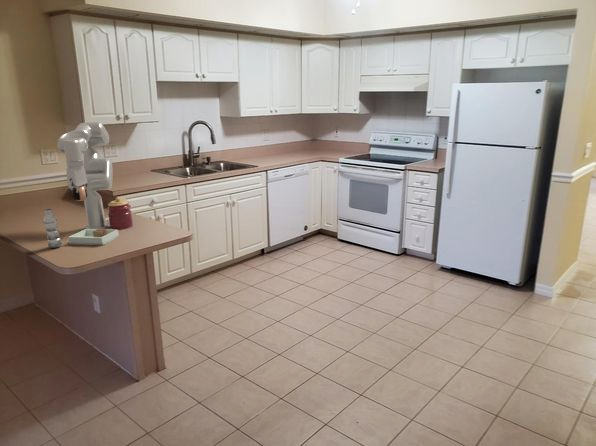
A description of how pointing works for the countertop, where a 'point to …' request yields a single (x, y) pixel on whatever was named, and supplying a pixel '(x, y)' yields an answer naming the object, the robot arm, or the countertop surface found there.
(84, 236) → the box
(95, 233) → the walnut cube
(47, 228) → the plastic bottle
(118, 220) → the canister
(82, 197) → the tan rounded-top part
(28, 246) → the countertop surface
